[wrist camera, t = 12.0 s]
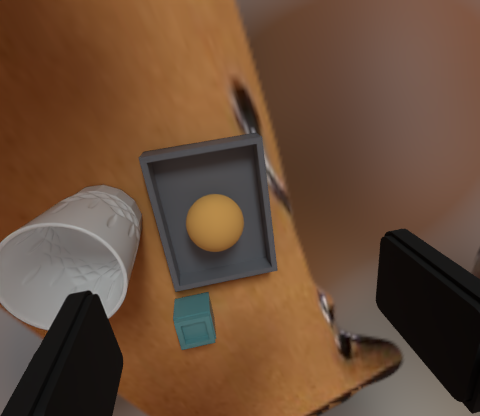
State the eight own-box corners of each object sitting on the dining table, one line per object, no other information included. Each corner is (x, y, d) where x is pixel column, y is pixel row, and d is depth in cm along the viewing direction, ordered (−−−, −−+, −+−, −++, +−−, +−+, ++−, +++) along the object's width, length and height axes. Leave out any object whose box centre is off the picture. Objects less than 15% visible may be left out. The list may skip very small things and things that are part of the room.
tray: (143, 151, 26) (138, 157, 24) (255, 132, 27) (261, 136, 25) (176, 276, 31) (175, 291, 29) (271, 257, 32) (277, 270, 29)
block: (174, 299, 32) (172, 323, 29) (208, 291, 32) (210, 314, 29) (182, 325, 33) (180, 350, 30) (214, 318, 34) (216, 343, 30)
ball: (181, 191, 27) (178, 213, 23) (235, 182, 28) (243, 201, 23) (192, 239, 29) (191, 268, 25) (243, 230, 30) (251, 256, 25)
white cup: (148, 258, 30) (127, 331, 21) (62, 255, 29) (-2, 333, 19) (149, 181, 27) (126, 226, 18) (54, 174, 26) (-23, 219, 17)
